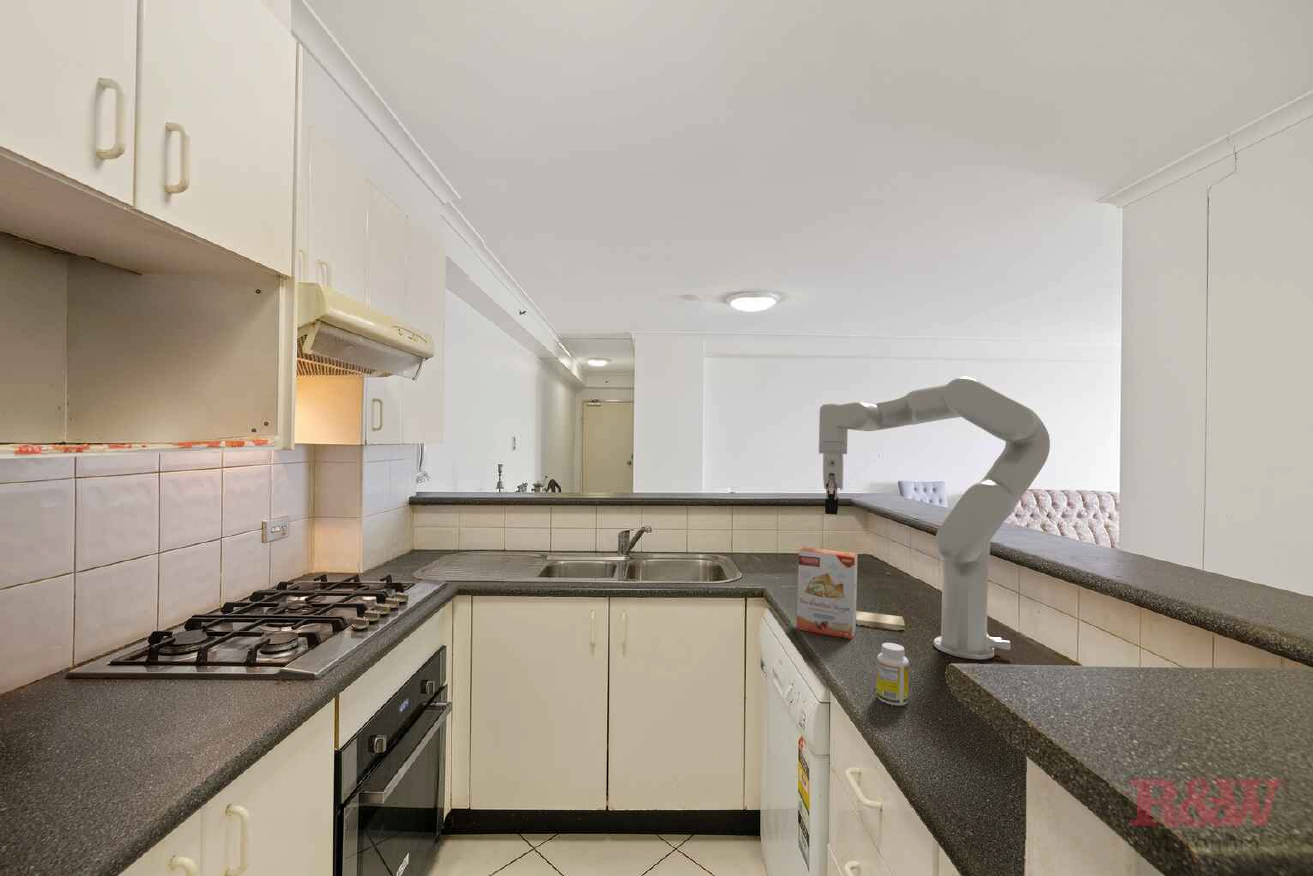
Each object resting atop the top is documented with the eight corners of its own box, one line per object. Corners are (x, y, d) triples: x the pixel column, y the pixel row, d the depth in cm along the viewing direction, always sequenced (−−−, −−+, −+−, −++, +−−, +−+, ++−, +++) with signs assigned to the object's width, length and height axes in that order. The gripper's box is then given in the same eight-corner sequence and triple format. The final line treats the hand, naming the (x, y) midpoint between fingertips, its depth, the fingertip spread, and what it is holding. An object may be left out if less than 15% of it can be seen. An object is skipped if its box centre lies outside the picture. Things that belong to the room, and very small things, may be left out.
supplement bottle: (898, 693, 108) (899, 640, 108) (914, 707, 102) (915, 651, 102) (870, 693, 107) (872, 641, 107) (885, 707, 102) (886, 652, 102)
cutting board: (902, 622, 152) (902, 616, 152) (904, 631, 144) (905, 625, 144) (856, 616, 156) (856, 611, 156) (856, 625, 148) (856, 619, 148)
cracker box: (795, 630, 143) (797, 549, 143) (801, 624, 148) (803, 546, 148) (852, 640, 136) (854, 556, 136) (856, 633, 142) (858, 552, 142)
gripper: (847, 449, 143) (845, 517, 143) (847, 448, 160) (846, 509, 160) (817, 448, 146) (815, 515, 146) (820, 448, 162) (819, 508, 162)
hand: (831, 512), depth 153 cm, fingers open, 7 cm apart
